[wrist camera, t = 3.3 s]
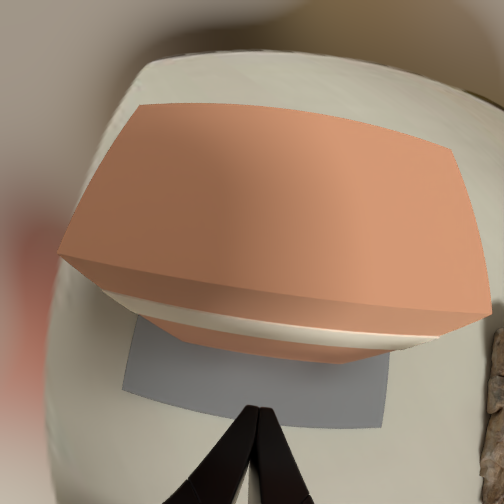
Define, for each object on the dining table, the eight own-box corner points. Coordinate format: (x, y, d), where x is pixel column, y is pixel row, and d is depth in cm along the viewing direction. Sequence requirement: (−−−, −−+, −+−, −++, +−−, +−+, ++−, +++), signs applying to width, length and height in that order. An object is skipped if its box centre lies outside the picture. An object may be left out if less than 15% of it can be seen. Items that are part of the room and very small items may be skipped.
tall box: (341, 364, 15) (493, 316, 4) (181, 341, 16) (54, 254, 5) (347, 285, 17) (451, 148, 6) (199, 264, 18) (138, 104, 7)
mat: (378, 426, 13) (381, 427, 13) (124, 389, 14) (121, 389, 14) (374, 157, 23) (376, 154, 22) (203, 134, 24) (203, 130, 24)
